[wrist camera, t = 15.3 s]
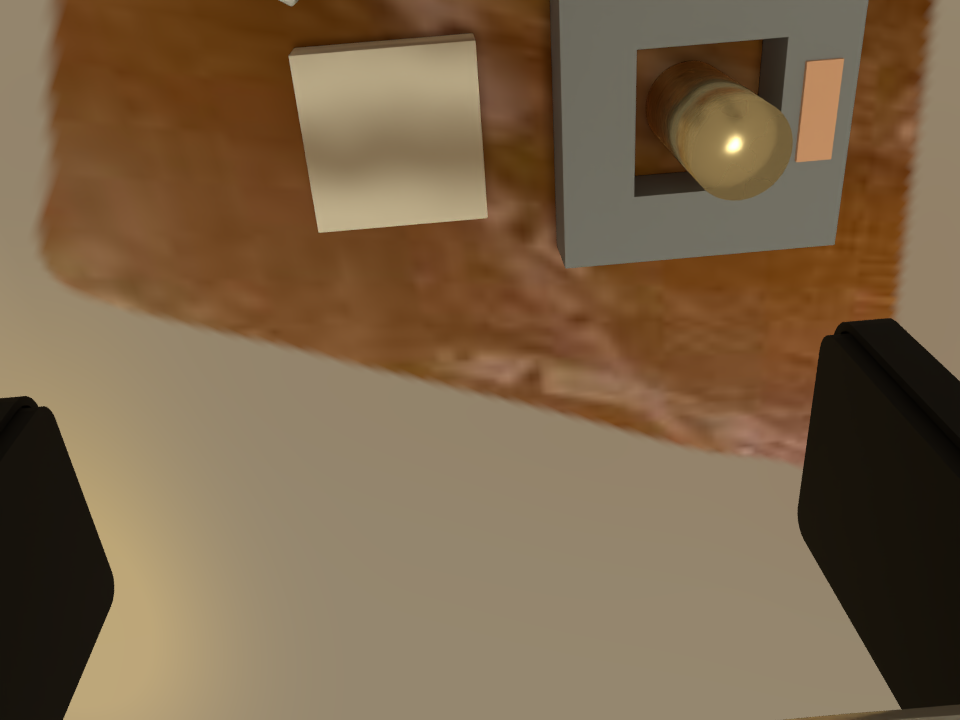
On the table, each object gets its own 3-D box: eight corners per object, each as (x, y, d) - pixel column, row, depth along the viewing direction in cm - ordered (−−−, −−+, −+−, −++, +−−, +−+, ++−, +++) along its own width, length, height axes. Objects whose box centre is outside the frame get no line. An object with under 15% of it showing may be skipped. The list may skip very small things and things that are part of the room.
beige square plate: (294, 47, 39) (288, 56, 37) (473, 33, 39) (475, 40, 37) (322, 218, 43) (318, 232, 41) (485, 203, 43) (487, 217, 41)
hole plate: (549, -35, 38) (559, -28, 35) (844, -59, 38) (878, -54, 35) (557, 245, 44) (566, 270, 41) (810, 222, 44) (835, 246, 42)
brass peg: (646, 64, 40) (694, 104, 33) (732, 57, 40) (797, 95, 33) (644, 150, 42) (689, 204, 35) (726, 143, 42) (787, 196, 35)
